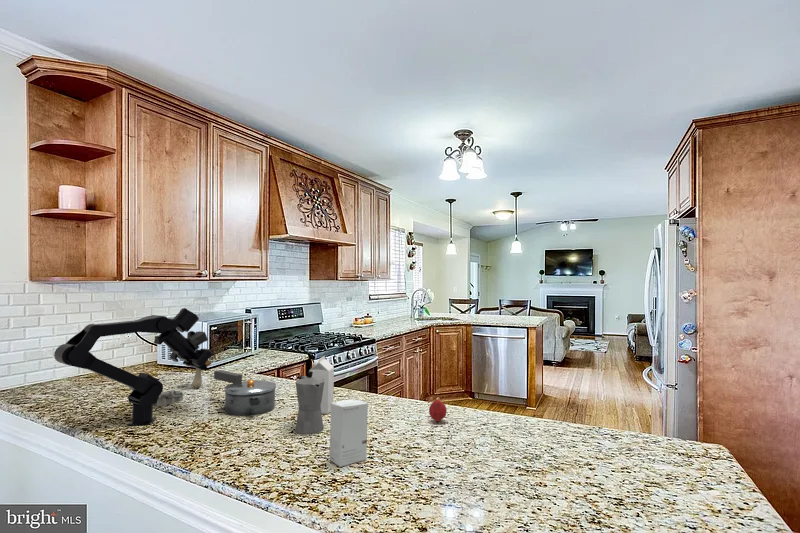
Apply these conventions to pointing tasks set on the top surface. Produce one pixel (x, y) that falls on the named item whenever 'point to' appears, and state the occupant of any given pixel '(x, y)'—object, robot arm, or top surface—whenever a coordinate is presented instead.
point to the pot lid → (243, 384)
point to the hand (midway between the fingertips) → (206, 369)
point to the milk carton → (325, 382)
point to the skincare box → (348, 432)
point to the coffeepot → (309, 404)
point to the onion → (437, 410)
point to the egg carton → (169, 398)
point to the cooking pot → (249, 404)
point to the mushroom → (198, 376)
